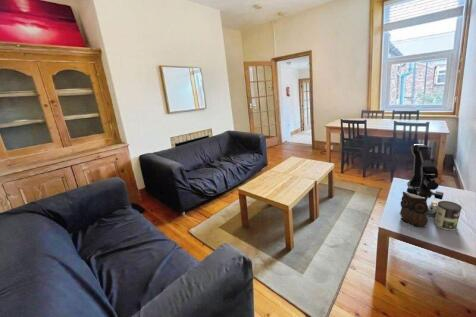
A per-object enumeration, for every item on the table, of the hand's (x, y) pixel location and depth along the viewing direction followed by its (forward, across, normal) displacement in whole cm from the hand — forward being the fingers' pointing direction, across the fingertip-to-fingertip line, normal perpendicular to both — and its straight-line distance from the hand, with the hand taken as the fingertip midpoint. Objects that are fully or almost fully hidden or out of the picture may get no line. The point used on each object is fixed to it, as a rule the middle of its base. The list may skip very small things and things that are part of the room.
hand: (422, 203), depth 153 cm
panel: (+4, +9, -2) cm, 10 cm away
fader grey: (+1, +7, -4) cm, 8 cm away
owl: (+4, 0, -20) cm, 21 cm away
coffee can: (+4, +13, -14) cm, 20 cm away
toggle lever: (+1, +6, -7) cm, 10 cm away
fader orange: (+1, +6, 0) cm, 6 cm away
